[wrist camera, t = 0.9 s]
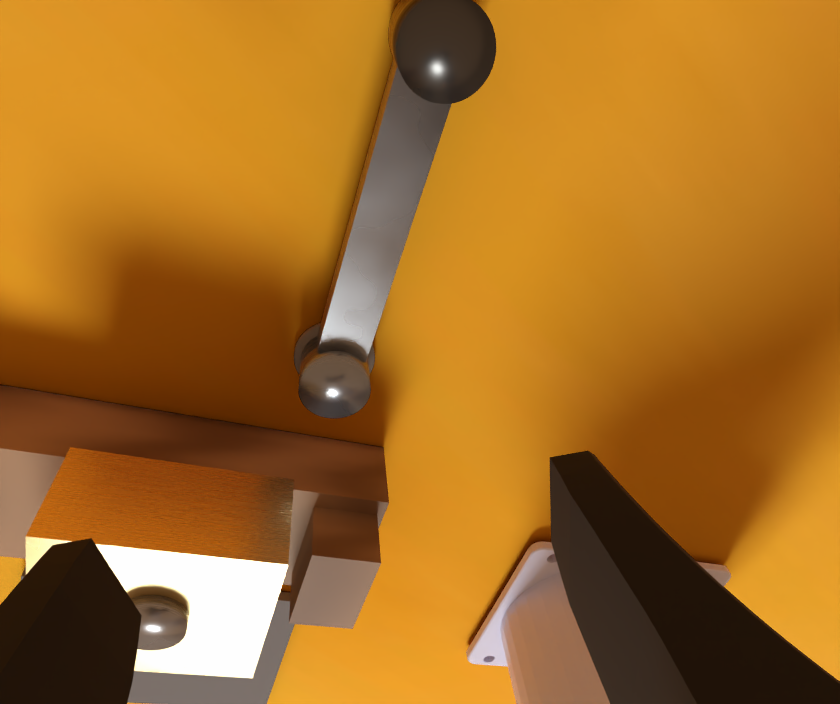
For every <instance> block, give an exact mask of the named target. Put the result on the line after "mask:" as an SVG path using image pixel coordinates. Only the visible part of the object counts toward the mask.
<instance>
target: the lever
mask: <svg viewBox="0 0 840 704" xmlns="http://www.w3.org/2000/svg"><path fill="white" fill-rule="evenodd" d="M388 41H389V47H390V50H391V53H392V56H393V62H392V66H391V69H390V73H389V76H388V80H387V84H386V87H385V91H384V95H383V98H382V102H381V106H380V109H379V113H378V116H377V120H376V124H375V127H374V131H373V135H372V138H371V142H370V145H369V149H368V153H367V156H366V160H365V164H364V167H363V171H362V174H361V178H360V182H359V185H358V189H357V193H356V196H355V200H354V204H353V207H352V211H351V214H350V218H349V222H348V225H347V229H346V233H345V236H344V240H343V243H342V247H341V251H340V254H339V258H338V262H337V265H336V269H335V273H334V276H333V280H332V283H331V287H330V291H329V294H328V298H327V302H326V305H325V309H324V312H323V316H322V320H321V323H320V327H319V331H318V336H316V337H315V338H313V339H312V340H310V341H309V342H308V343H307V344H306V346H305V347H304V349H303V351H302V354H301V362H300V376H299V397H300V399H301V401H302V403H303V405H304V406H305V407H306V408H307V409H308V410H309V411H311V412H312V413H314V414H316V415H318V416H321V417H325V418H343V417H347V416H350V415H352V414H354V413H356V412H358V411H359V410H360V409H362V408H363V407H364V405H365V404H366V403H367V401H368V399H369V397H370V391H371V388H370V375H369V363H368V354H369V351H370V348H371V345H372V342H373V339H374V336H375V333H376V330H377V327H378V324H379V321H380V318H381V315H382V312H383V309H384V306H385V303H386V300H387V297H388V294H389V291H390V288H391V285H392V282H393V279H394V276H395V273H396V270H397V267H398V264H399V261H400V258H401V255H402V252H403V249H404V246H405V243H406V240H407V237H408V234H409V231H410V227H411V224H412V221H413V218H414V215H415V212H416V209H417V206H418V203H419V200H420V197H421V194H422V191H423V188H424V185H425V182H426V179H427V176H428V173H429V170H430V167H431V164H432V161H433V158H434V155H435V152H436V149H437V146H438V143H439V140H440V137H441V134H442V131H443V128H444V125H445V122H446V119H447V116H448V113H449V110H450V107H451V104H452V103H456V102H459V101H462V100H464V99H466V98H468V97H469V96H471V95H472V94H474V93H475V92H476V91H477V90H478V89H479V88H480V87H481V86H482V85H483V84H484V82H485V81H486V79H487V78H488V76H489V74H490V72H491V70H492V67H493V64H494V60H495V55H496V38H495V33H494V29H493V26H492V24H491V22H490V20H489V18H488V16H487V15H486V13H485V12H484V11H483V9H482V8H481V7H480V6H479V5H477V4H476V3H475V2H473V1H472V0H400V1H399V2H398V4H397V5H396V7H395V9H394V11H393V13H392V15H391V19H390V22H389V28H388Z"/></svg>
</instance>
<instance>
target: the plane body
mask: <svg viewBox="0 0 840 704" xmlns="http://www.w3.org/2000/svg"><path fill="white" fill-rule="evenodd" d="M319 327H320V323H319V324H316V325H314V326H312V327H310V328H309V329H307V330H306V331H305V332H304V333H303V334H302V335H301V336H300V338H299V339H298V341H297V343H296V346H295V351H294V363H295V367H296V370H297V372H298V373H299V375H300V362H301V354H302V351H303V349H304V347H305V346H306V344H307V343H308V342H309V341H310V340H312V339H313V338H315V337H316V336H318V331H319ZM374 361H375V355H374V347H373V344H372V345H371V348H370V351H369V354H368V363H369V374H370V373H371V371H372V369H373V366H374ZM70 447H73V448H80V449H87V450H94V451H101V452H107V453H114V454H121V455H128V456H135V457H142V458H149V459H156V460H163V461H170V462H177V463H184V464H191V465H197V466H204V467H211V468H218V469H225V470H232V471H239V472H246V473H253V474H260V475H267V476H274V477H280V478H287V479H294V490H293V505H292V519H291V533H290V548H289V562H288V568H287V571H286V574H285V577H284V580H283V583H282V584H284V585H291V596H290V612H289V623H291V624H303V625H315V626H327V627H338V628H350V629H353V627H354V624H355V622H356V620H357V617H358V615H359V613H360V610H361V608H362V606H363V603H364V601H365V599H366V596H367V594H368V592H369V589H370V587H371V585H372V583H373V580H374V578H375V576H376V573H377V571H378V569H379V566H380V564H381V558H380V545H379V532H378V528H379V526H380V523H381V521H382V518H383V516H384V513H385V511H386V509H387V506H388V504H389V499H388V489H387V478H386V468H385V458H384V447H377V446H371V445H365V444H359V443H353V442H347V441H341V440H335V439H329V438H322V437H316V436H310V435H304V434H298V433H292V432H286V431H280V430H274V429H267V428H261V427H255V426H249V425H243V424H237V423H231V422H225V421H219V420H213V419H206V418H200V417H194V416H188V415H182V414H176V413H170V412H164V411H158V410H151V409H145V408H139V407H133V406H127V405H121V404H115V403H109V402H103V401H96V400H90V399H84V398H78V397H72V396H66V395H60V394H54V393H48V392H41V391H35V390H29V389H23V388H17V387H11V386H5V385H0V556H5V557H15V558H25V559H26V535H27V533H28V531H29V529H30V527H31V525H32V523H33V521H34V519H35V517H36V515H37V513H38V511H39V509H40V507H41V505H42V503H43V501H44V499H45V497H46V495H47V493H48V491H49V489H50V487H51V485H52V483H53V481H54V479H55V477H56V475H57V473H58V471H59V469H60V467H61V465H62V463H63V461H64V459H65V457H66V455H67V453H68V451H69V449H70Z"/></svg>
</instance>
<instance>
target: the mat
mask: <svg viewBox="0 0 840 704" xmlns="http://www.w3.org/2000/svg"><path fill="white" fill-rule="evenodd" d="M25 575H26V567H25V569H24V571H23V574H22V576H21V580H22V579H23V578H24V576H25ZM290 596H291V593H290V592H280V593H279V596H278V599H277V602H276V605H275V608H274V612H273V615H272V618H271V621H270V624H269V627H268V630H267V634H266V637H265V640H264V643H263V646H262V649H261V653H260V656H259V659H258V662H257V665H256V668H255V671H254V675H253V678H241V677H225V676H208V675H192V674H176V673H160V672H143V671H134V675H133V681H132V686H131V690H130V694H129V698H128V702H131V703H151V704H267V701H268V698H269V695H270V692H271V690H272V687H273V684H274V681H275V678H276V675H277V672H278V670H279V667H280V664H281V661H282V658H283V655H284V653H285V650H286V647H287V644H288V641H289V638H290V635H291V633H292V630H293V627H294V624H291V623H289V612H290Z"/></svg>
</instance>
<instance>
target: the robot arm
mask: <svg viewBox="0 0 840 704" xmlns="http://www.w3.org/2000/svg"><path fill="white" fill-rule="evenodd" d="M550 499H551V542H544V541H540V542H536V543H534V544H532V545H531V546H530V547H529V548H528V550H527V551H526V553H525V555H524V556H523V558H522V560H521V561H520V563H519V565H518V566H517V568H516V570H515V571H514V573H513V575H512V576H511V578H510V580H509V581H508V583H507V585H506V586H505V588H504V590H503V591H502V593H501V595H500V596H499V598H498V600H497V601H496V603H495V605H494V606H493V608H492V610H491V611H490V613H489V614H488V616H487V618H486V619H485V621H484V623H483V624H482V626H481V628H480V629H479V631H478V633H477V634H476V636H475V638H474V639H473V641H472V643H471V644H470V646H469V648H468V649H467V652H466V653H467V659H468V661H469V662H471V663H473V664H482V665H496V666H508V669H509V674H510V678H511V682H512V686H513V691H514V695H515V699H516V703H517V704H840V681H838V680H837V679H836V678H834V677H833V676H832V675H830V674H829V673H828V672H826V671H825V670H824V669H822V668H821V667H820V666H819V665H817V664H816V663H815V662H813V661H812V660H811V659H810V658H808V657H807V656H806V655H804V654H803V653H802V652H801V651H799V650H798V649H797V648H796V647H794V646H793V645H792V644H790V643H789V642H788V641H787V640H785V639H784V638H783V637H782V636H781V635H779V634H778V633H777V632H776V631H774V630H773V629H772V628H771V627H770V626H768V625H767V624H766V623H765V622H764V621H763V620H761V619H760V618H759V617H758V616H757V615H755V614H754V613H753V612H752V611H751V610H750V609H748V608H747V607H746V606H745V605H744V604H743V603H742V602H740V601H739V600H738V599H737V598H736V597H735V596H734V595H732V594H731V593H730V592H729V591H728V590H727V589H726V588H725V587H724V585H725V584H726V583H727V582H728V581H729V579H730V578H731V573H730V572H729V570H728V569H727V567H726V566H723V565H718V564H710V563H703V562H696V561H695V560H694V559H693V558H692V557H691V556H690V555H689V554H688V553H687V552H686V551H685V550H684V549H683V548H682V547H681V546H680V545H679V544H678V543H677V542H676V541H675V540H673V539H672V538H671V537H670V536H669V535H668V534H667V533H666V532H665V531H664V530H663V529H662V528H661V527H660V526H659V525H658V524H657V523H656V522H655V521H654V520H653V519H652V518H651V517H650V516H649V515H648V513H647V512H646V511H645V510H644V509H643V508H642V507H641V506H640V505H639V504H638V503H637V502H636V501H635V500H634V499H633V498H632V497H631V496H630V494H629V493H628V492H627V491H626V490H625V489H624V488H623V487H622V486H621V485H620V484H619V482H618V481H617V480H616V479H615V478H614V477H613V476H612V475H611V474H610V472H609V471H608V470H607V469H606V468H605V467H604V466H603V464H602V463H601V462H600V461H599V460H598V459H597V457H596V456H595V455H594V454H592V453H591V452H589V451H584V452H578V453H572V454H567V455H561V456H555V457H550ZM141 616H142V615H141V614H140V612H139V611H138V609H137V608H136V606H135V605H134V603H133V602H132V600H131V598H130V597H129V595H128V594H127V592H126V591H125V589H124V588H123V586H122V585H121V583H120V581H119V580H118V578H117V577H116V575H115V574H114V572H113V571H112V569H111V568H110V566H109V564H108V563H107V561H106V560H105V558H104V557H103V555H102V554H101V552H100V551H99V549H98V547H97V546H96V544H95V543H94V541H93V540H92V538H89V539H84V540H78V541H72V542H67V543H61V544H55V545H52V546H51V547H50V548H49V549H48V550H47V551H46V553H45V554H44V555H43V556H42V557H41V558H40V559H39V560H38V561H37V563H36V564H35V565H34V566H33V567H32V568H31V570H30V571H29V572H28V573H27V574H26V575H25V576H24V578H23V579H22V580H21V581H20V582H19V584H18V585H17V586H16V587H15V588H14V589H13V591H12V592H11V593H10V594H9V595H8V597H7V598H6V599H5V600H4V601H3V602H2V604H1V605H0V704H127V702H128V698H129V694H130V690H131V686H132V681H133V675H134V669H135V662H136V656H137V649H138V641H139V633H140V625H141Z"/></svg>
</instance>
